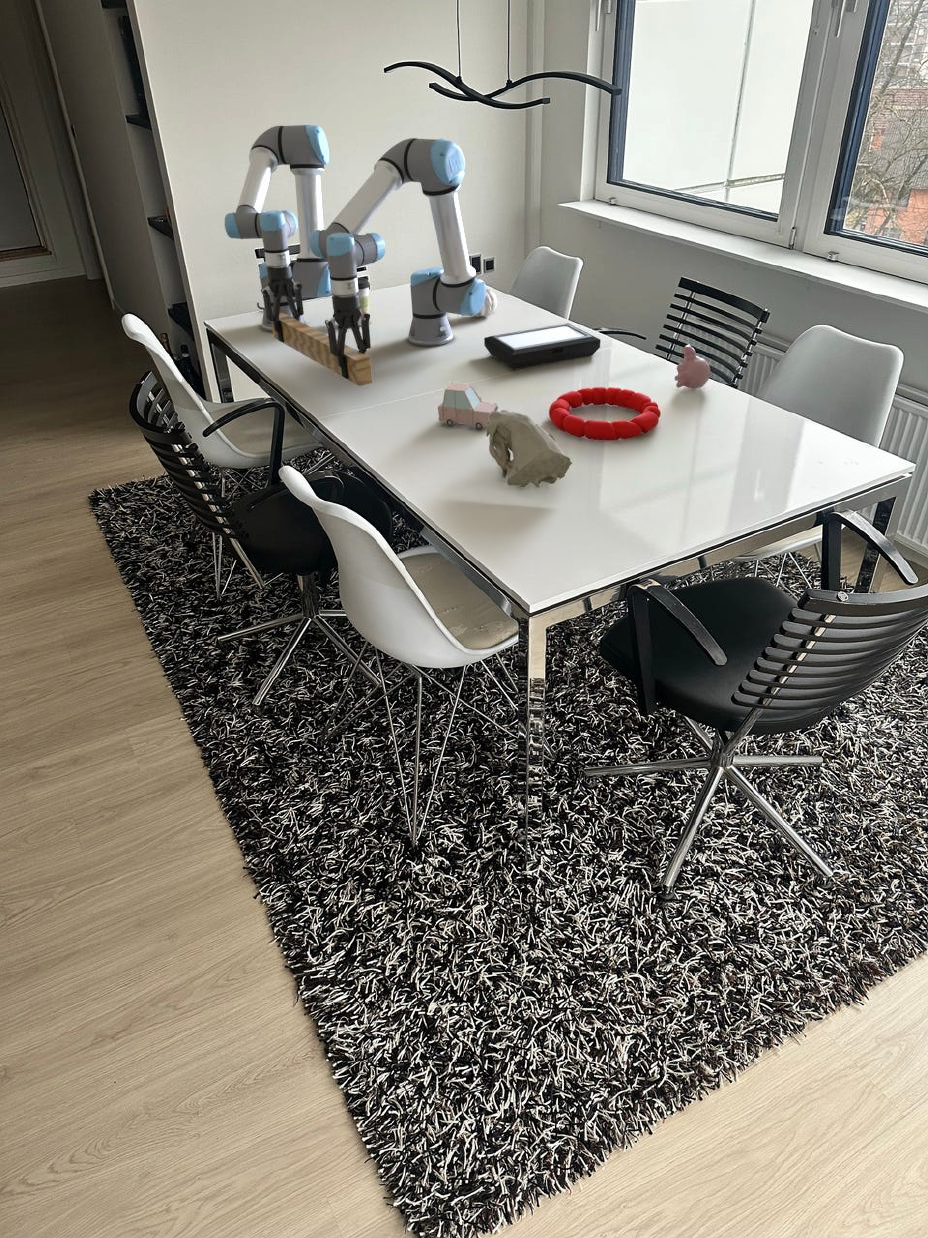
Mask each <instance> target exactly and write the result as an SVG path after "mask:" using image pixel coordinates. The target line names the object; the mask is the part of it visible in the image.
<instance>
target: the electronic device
mask: <svg viewBox="0 0 928 1238" xmlns="http://www.w3.org/2000/svg"><path fill="white" fill-rule="evenodd" d="M483 345H484V347H485V349H486V350H487V351H488V352H489V354H490V355H491V356H492V357H494V358H495V359H497V360H498V361H500V362H502V363H503V364H505V365H507V366H508V367H510V368H511V369H512V370H514V371H515V370H518V369H524V368H530V367H536V366H540V365H541V366H542V365H547V364H553V363H558V362H564V361H569V360H574V359H580V358H581V359H582V358H585V357H586V358H587V357H593V356H594V354H596V353H597V351H598V350H600V348H601V339H600V338H598V337H597V336H595V335H593V334H590V333H589V332H587V331H585V330H583V329H581V328H580V327H577V326H575V325H573V324H571V323H568V322H567V323H561V324H560V323H559V324H555V325H548V326H541V327H537V328H530V329H524V330H520V331H513V332H507V333H500V334H495V335H490V336H486V337H484V341H483Z"/></svg>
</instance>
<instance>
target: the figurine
mask: <svg viewBox="0 0 928 1238" xmlns="http://www.w3.org/2000/svg"><path fill="white" fill-rule="evenodd" d="M682 354H683V358H684V359H683V361H682V362H679V363H678V364H677V365H676V372H677V375H675V376H674V381H675V382H676V381H677V382H676V384H675V386H676V388H681V387H686V388H688V389H693V390H694V389H695V390H696V389H700V388H703V387H704V386H705V385H706V384H707V383H708V382H709V379H710V377H711V367H710V364H709V362H708V361H706V359H704V358H702V357H700V356H697V353H696V350H695V349H694V347H692V345H690V344H686V345H685V346H684V347H683V348H682Z"/></svg>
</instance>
